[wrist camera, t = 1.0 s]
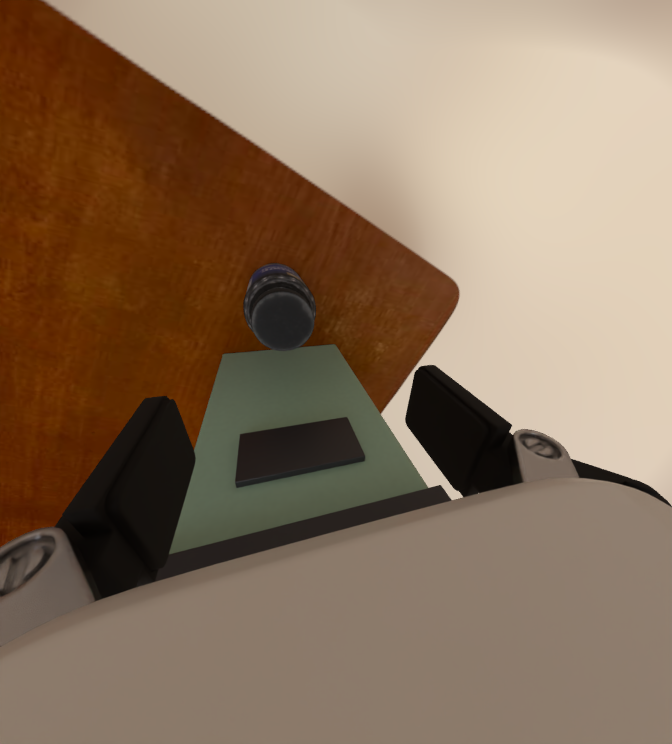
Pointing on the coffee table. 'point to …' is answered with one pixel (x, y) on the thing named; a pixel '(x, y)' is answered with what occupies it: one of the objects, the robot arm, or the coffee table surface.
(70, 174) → the coffee table surface
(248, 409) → the slim lidded bin
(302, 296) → the pill bottle
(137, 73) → the coffee table surface
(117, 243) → the coffee table surface
